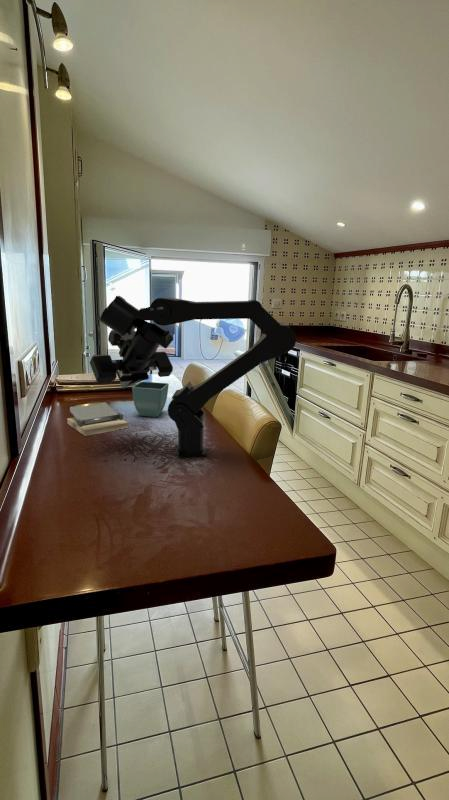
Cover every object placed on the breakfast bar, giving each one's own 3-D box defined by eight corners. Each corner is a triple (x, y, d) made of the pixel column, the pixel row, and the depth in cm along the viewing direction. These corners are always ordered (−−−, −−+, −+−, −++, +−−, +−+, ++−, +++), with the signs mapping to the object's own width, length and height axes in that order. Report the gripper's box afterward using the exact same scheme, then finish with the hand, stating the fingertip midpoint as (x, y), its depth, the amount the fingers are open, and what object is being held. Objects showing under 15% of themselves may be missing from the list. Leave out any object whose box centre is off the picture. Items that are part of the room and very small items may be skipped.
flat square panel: (119, 415, 114) (104, 400, 121) (83, 421, 108) (68, 405, 115) (119, 420, 115) (103, 405, 122) (82, 426, 109) (68, 410, 115)
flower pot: (169, 411, 130) (169, 382, 128) (162, 419, 122) (162, 389, 120) (140, 409, 131) (140, 381, 129) (131, 417, 123) (131, 387, 120)
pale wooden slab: (128, 428, 113) (128, 417, 113) (85, 436, 106) (84, 424, 105) (108, 417, 122) (108, 407, 121) (67, 423, 115) (66, 413, 114)
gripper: (166, 318, 103) (145, 358, 114) (91, 318, 91) (75, 362, 102) (184, 354, 98) (160, 392, 109) (107, 360, 87) (89, 401, 98)
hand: (122, 386), depth 105 cm, fingers closed
